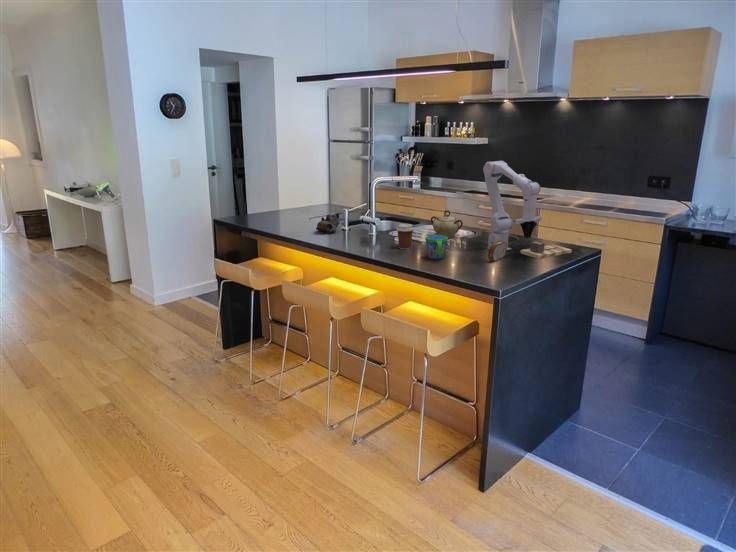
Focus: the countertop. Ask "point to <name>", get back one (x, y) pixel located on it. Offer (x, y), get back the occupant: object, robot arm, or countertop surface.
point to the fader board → (547, 251)
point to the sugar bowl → (446, 225)
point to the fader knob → (537, 247)
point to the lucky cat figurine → (329, 223)
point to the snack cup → (436, 246)
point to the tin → (497, 251)
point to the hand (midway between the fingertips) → (527, 237)
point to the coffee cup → (405, 235)
